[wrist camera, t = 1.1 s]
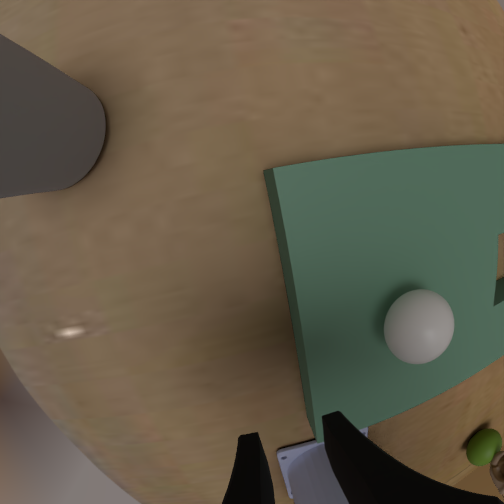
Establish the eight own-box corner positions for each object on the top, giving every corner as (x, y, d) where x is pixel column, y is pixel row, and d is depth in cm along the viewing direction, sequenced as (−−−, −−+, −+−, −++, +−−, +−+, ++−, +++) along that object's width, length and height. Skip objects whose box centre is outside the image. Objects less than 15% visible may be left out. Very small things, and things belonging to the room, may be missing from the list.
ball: (425, 330, 16) (463, 360, 13) (371, 351, 16) (404, 389, 12) (427, 271, 15) (472, 294, 12) (369, 290, 15) (409, 321, 11)
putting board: (514, 322, 22) (532, 332, 19) (307, 417, 21) (317, 443, 18) (518, 144, 17) (542, 144, 15) (263, 170, 16) (272, 168, 13)
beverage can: (117, 82, 14) (-3, -25, 2) (106, 190, 15) (-58, 218, 4) (31, 94, 13) (-103, 49, 2) (22, 192, 15) (-129, 221, 3)
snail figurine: (454, 459, 27) (492, 511, 16) (465, 433, 26) (512, 489, 14) (480, 441, 27) (520, 487, 16) (492, 414, 26) (539, 463, 14)
